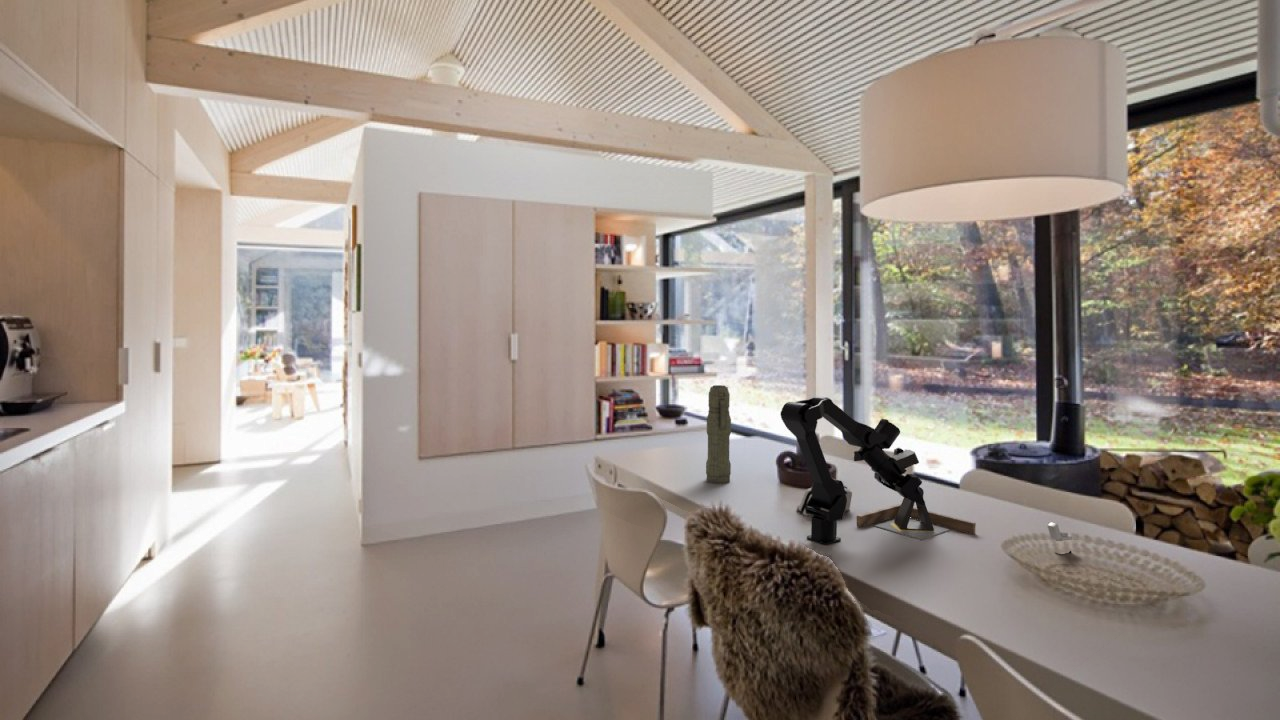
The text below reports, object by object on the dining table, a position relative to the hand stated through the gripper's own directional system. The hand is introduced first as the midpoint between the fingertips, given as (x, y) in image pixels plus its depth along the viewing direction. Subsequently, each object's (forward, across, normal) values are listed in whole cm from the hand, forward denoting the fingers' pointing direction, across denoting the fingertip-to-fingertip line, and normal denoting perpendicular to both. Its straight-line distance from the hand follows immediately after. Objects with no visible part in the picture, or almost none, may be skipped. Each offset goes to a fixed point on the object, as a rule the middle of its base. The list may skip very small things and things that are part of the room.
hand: (917, 500), depth 174 cm
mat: (+5, 0, +7) cm, 8 cm away
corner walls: (+5, -1, +6) cm, 8 cm away
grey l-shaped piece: (+24, -20, -13) cm, 34 cm away
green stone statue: (-28, +56, +39) cm, 74 cm away
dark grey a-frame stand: (+5, 0, +6) cm, 8 cm away
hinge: (-8, +17, +20) cm, 28 cm away
